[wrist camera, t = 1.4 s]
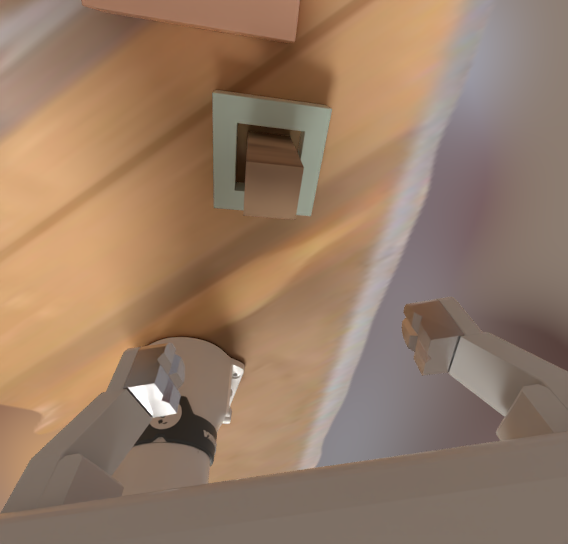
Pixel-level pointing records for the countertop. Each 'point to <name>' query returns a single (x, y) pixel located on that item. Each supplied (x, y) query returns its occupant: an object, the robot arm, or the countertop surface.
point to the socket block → (214, 15)
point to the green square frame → (269, 114)
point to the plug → (272, 176)
